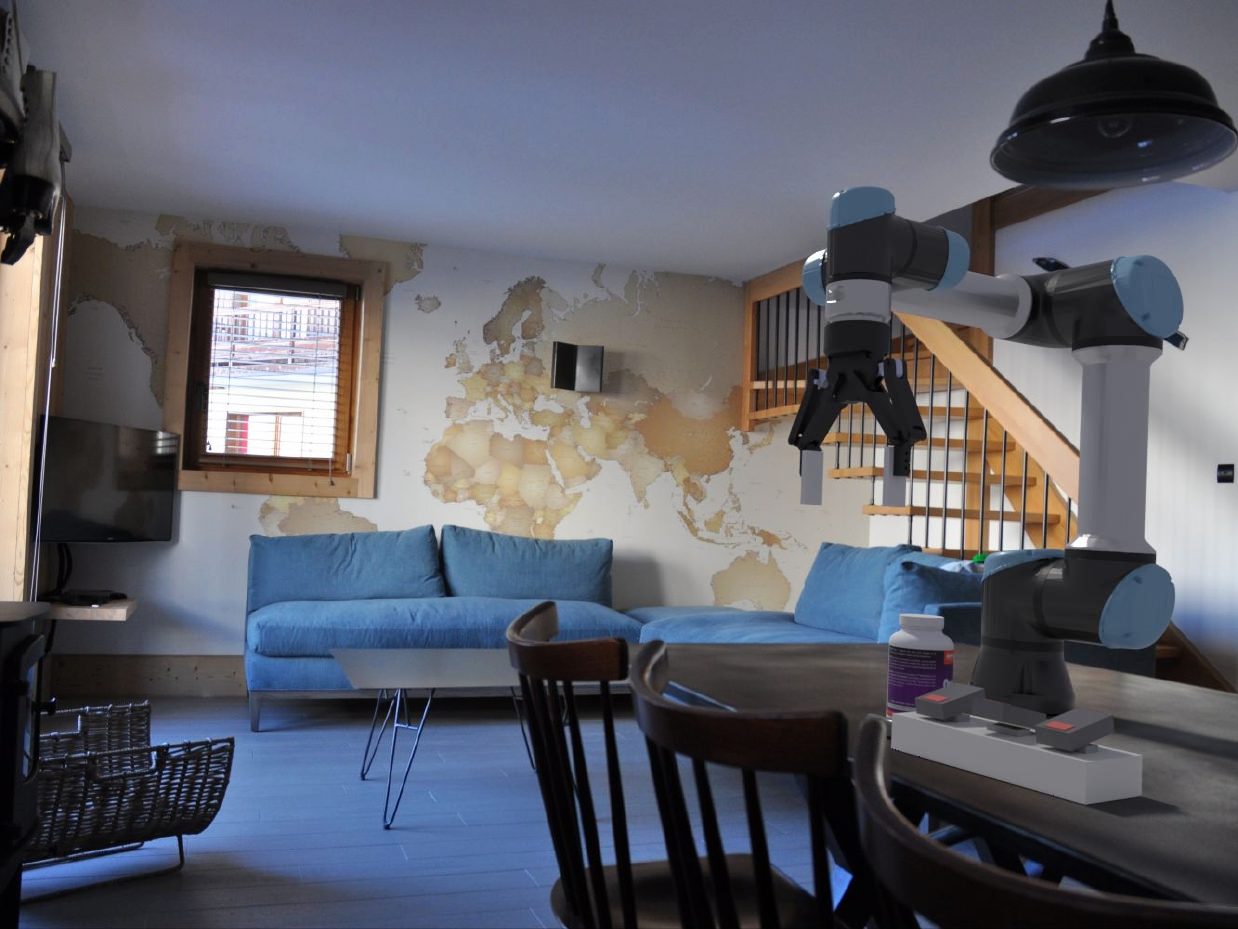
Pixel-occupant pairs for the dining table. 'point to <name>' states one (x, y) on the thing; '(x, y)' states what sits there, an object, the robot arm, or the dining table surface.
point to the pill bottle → (917, 661)
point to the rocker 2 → (1007, 713)
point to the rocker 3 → (1074, 729)
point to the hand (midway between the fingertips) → (850, 506)
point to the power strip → (1018, 756)
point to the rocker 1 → (948, 701)
